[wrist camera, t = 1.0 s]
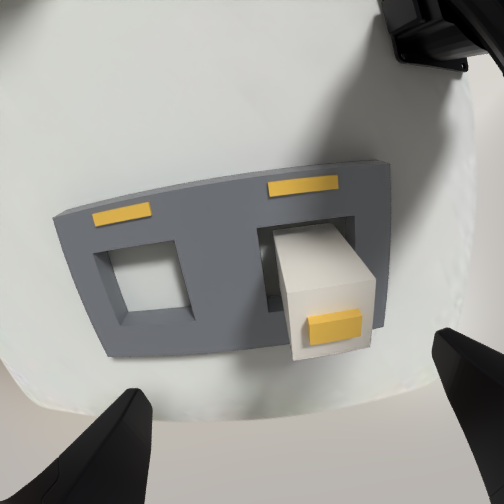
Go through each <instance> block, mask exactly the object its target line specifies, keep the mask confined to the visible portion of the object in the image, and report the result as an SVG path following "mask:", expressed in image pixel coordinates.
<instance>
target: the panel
mask: <svg viewBox="0 0 504 504" xmlns="http://www.w3.org/2000/svg"><path fill="white" fill-rule="evenodd" d="M338 217H346V241H347V242H348V244H349V245H350V246H351V247H352V249H353V250H354V251H355V252H356V254H357V255H358V256H359V257H360V259H361V260H362V261H363V263H364V264H365V265H366V266H367V268H368V269H369V270H370V272H371V273H372V274H373V275H374V277H375V278H376V288H375V302H374V314H373V325H372V329H376V328H381V327H383V326H384V318H385V309H386V300H387V289H388V276H389V261H390V238H391V180H390V164H388V163H385V162H382V161H379V160H369V161H354V162H341V163H329V164H319V165H309V166H299V167H290V168H282V169H274V170H266V171H258V172H251V173H244V174H237V175H231V176H224V177H218V178H212V179H206V180H200V181H194V182H189V183H183V184H178V185H173V186H167V187H162V188H157V189H153V190H148V191H143V192H138V193H134V194H129V195H125V196H120V197H116V198H112V199H107V200H103V201H99V202H95V203H91V204H87V205H83V206H79V207H76V208H72V209H68V210H66V211H64V212H62V213H60V214H59V215H57V216H55V217H53V221H54V224H55V228H56V231H57V234H58V237H59V241H60V244H61V247H62V250H63V253H64V256H65V259H66V261H67V264H68V267H69V270H70V272H71V275H72V278H73V280H74V283H75V285H76V288H77V290H78V293H79V295H80V298H81V300H82V303H83V305H84V307H85V310H86V312H87V314H88V316H89V319H90V321H91V323H92V325H93V327H94V330H95V332H96V334H97V336H98V338H99V340H100V342H101V344H102V346H103V348H104V350H105V352H106V354H107V356H108V357H135V356H165V355H184V354H199V353H212V352H224V351H234V350H244V349H253V348H261V347H270V346H277V345H285V344H290V340H289V335H288V329H287V324H286V318H285V313H284V307H283V302H282V297H281V296H273V297H267V296H266V289H265V282H264V274H263V267H262V260H261V253H260V246H259V239H258V232H257V228H261V227H268V226H276V225H283V224H291V223H298V222H306V221H314V220H322V219H330V218H338ZM171 240H174V241H175V245H176V249H177V253H178V257H179V261H180V265H181V269H182V273H183V277H184V280H185V284H186V288H187V292H188V295H189V299H190V302H191V306H189V307H180V308H169V309H158V310H147V311H135V312H128V310H127V307H126V305H125V302H124V299H123V297H122V294H121V291H120V288H119V286H118V283H117V280H116V277H115V274H114V271H113V268H112V265H111V262H110V259H109V256H108V253H107V251H109V250H115V249H121V248H127V247H133V246H140V245H146V244H152V243H158V242H165V241H171Z"/></svg>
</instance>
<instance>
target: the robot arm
mask: <svg viewBox="0 0 504 504" xmlns="http://www.w3.org/2000/svg"><path fill="white" fill-rule="evenodd" d="M382 6H383V10H384V14H385V18H386V22H387V26H388V31H389V33H390V34H391V36H392V41H393V46H394V51H395V56H396V59H397V60H398V61H399V62H400V63H403V64H412V65H420V66H427V67H434V68H440V69H446V70H452V71H457V72H467V71H468V62H467V57H469V56H475V55H481V54H488V53H489V54H490V55H491V57H492V58H493V60H494V61H495V62H496V64H497V65H498V67H499V68H500V70H501V71H502V73H503V77H504V0H383V2H382ZM401 54H403V55H404V56H405V59H403V58H402V56H401ZM461 64H462V65H463V68H462V66H461ZM432 358H433V360H434V363H435V366H436V368H437V371H438V373H439V376H440V379H441V381H442V384H443V387H444V390H445V392H446V395H447V397H448V400H449V402H450V404H451V406H452V408H453V410H454V412H455V414H456V416H457V419H458V421H459V423H460V425H461V428H462V430H463V432H464V434H465V437H466V439H467V441H468V443H469V446H470V448H471V451H472V453H473V455H474V458H475V460H476V463H477V465H478V468H479V471H480V473H481V476H482V478H483V481H484V484H485V487H486V490H487V493H488V496H489V497H490V498H489V499H490V502H491V504H504V354H502V353H500V352H498V351H496V350H494V349H492V348H490V347H488V346H486V345H484V344H481V343H479V342H477V341H475V340H473V339H471V338H469V337H467V336H465V335H463V334H461V333H459V332H457V331H455V330H453V329H451V328H443V329H441V330H438V331H436V333H435V336H434V341H433V346H432ZM152 413H153V410H152V406H151V403H150V402H149V400H148V399H147V398H146V396H145V395H144V393H143V392H142V390H141V389H139V388H129V389H127V390H126V391H125V392H124V393H123V394H122V395H121V396H120V397H119V398H118V399H117V400H116V401H115V402H114V403H113V404H111V405H110V406H109V407H108V408H107V409H106V410H105V411H104V412H103V413H102V414H101V415H100V416H99V417H98V418H97V419H96V420H95V421H94V422H93V423H92V424H91V425H90V426H89V427H88V428H87V429H86V430H85V431H84V432H83V433H82V434H81V435H80V436H79V437H78V438H77V439H76V440H75V441H74V442H73V443H72V444H71V445H70V446H69V447H68V448H67V449H66V450H65V451H64V452H63V453H62V454H61V455H60V456H59V458H57V459H55V460H54V461H53V462H52V463H51V464H50V465H49V466H48V467H47V468H46V469H45V470H44V471H43V472H42V473H40V474H39V475H38V476H37V477H36V478H34V479H33V480H32V481H31V482H30V483H28V484H27V485H26V486H24V487H23V488H22V489H20V490H19V491H18V492H17V493H15V494H14V495H13V496H11V497H10V498H8V499H6V500H3V501H0V504H144V502H145V494H146V485H147V477H148V469H149V462H150V454H151V437H152V436H151V435H152Z"/></svg>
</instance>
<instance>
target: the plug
mask: <svg viewBox="0 0 504 504" xmlns="http://www.w3.org/2000/svg"><path fill="white" fill-rule="evenodd" d="M273 237H274V246H275V254H276V262H277V271H278V279H279V286H280V291H281V297H282V302H283V307H284V313H285V318H286V324H287V329H288V335H289V340H290V346H291V351H292V357H293V361H295V360H302V359H309V358H315V357H321V356H327V355H332V354H338V353H343V352H348V351H353V350H358V349H363V348H368V347H370V343H371V334H372V325H373V314H374V302H375V288H376V278H375V277H374V275H373V274H372V273H371V272H370V270H369V269H368V268H367V266H366V265H365V264H364V263H363V261H362V260H361V259H360V257H359V256H358V255H357V254H356V252H355V251H354V250H353V249H352V247H351V246H350V245H349V244H348V242H347V241H346V240H345V239H344V237H343V236H342V235H341V234H340V232H339V231H338V230H337V229H336V228H335V226H334V225H333V224H332V223H326V224H318V225H310V226H303V227H295V228H287V229H280V230H273Z"/></svg>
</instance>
